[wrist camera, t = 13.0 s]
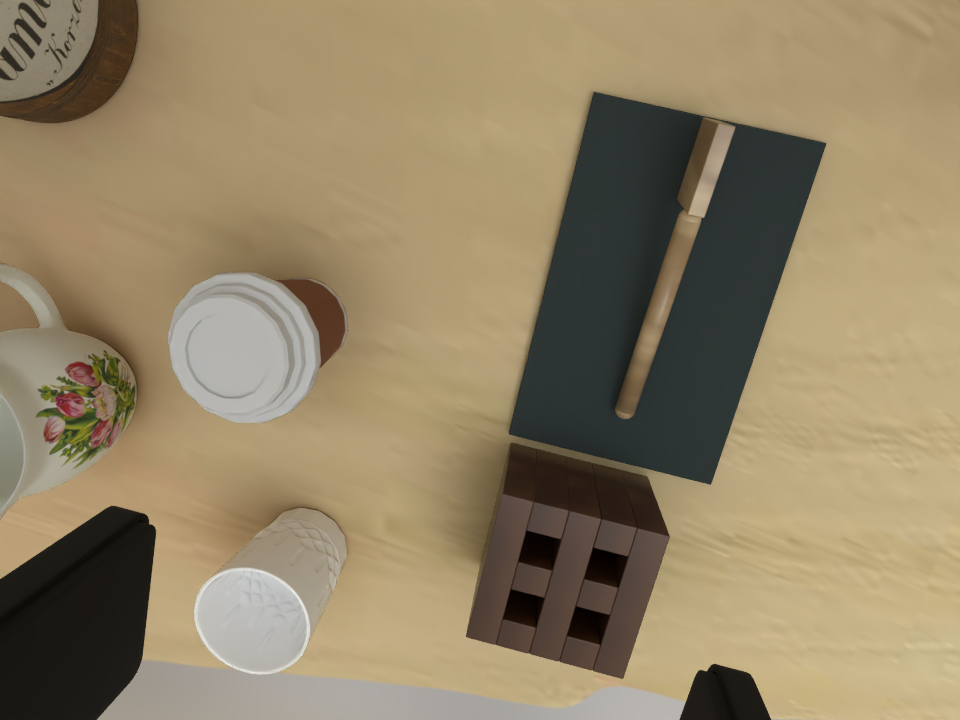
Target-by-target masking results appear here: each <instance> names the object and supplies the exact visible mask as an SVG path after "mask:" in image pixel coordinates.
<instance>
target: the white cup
mask: <svg viewBox="0 0 960 720" xmlns="http://www.w3.org/2000/svg"><path fill="white" fill-rule="evenodd" d="M346 557H347V548H346V541H345V536H344V535H343V533H342V532H341V530H340V529H339V527H338V525H337V524H336V522H335V521H333V520H332V519H330V518H329V517H327V516H326V515H324V514H323V513H322V512H320V511H317V510H311V509H306V508H297V509H293V510H289V511H285V512H283V513H281V514H280V515H279V516H278V517H277V518H276V519H275V520H274V521H272V522H271V523H270V524H269V525H268V526H267V527H266V528H265V529H263V530H261V531H260V532H259V533H257V534H256V535H255V536H254V537H253V538H252V539H250V540H249V541H248V542H247V543H246V544H245V545H244V546H243V547H242V548H241V549H240V550H239V551H238V552H237V553H236V554H235V555H234V556H233V557H232V558H231V559H230V560H229V561H228V562H227V563H226V564H225V565H223V566H222V567H221V568H220V569H219V570H218V571H217V572H216V573H215V574H214V575H213V576H212V577H211V578H210V579H209V580H208V581H207V582H206V583H205V584H204V585H203V586H202V588H201V589H200V591H199V593H198V595H197V598H196V601H195V606H194V619H195V624H196V628H197V631H198V633H199V636H200V638H201V640H202V641H203V643H204V644H205V646H206V647H207V648H208V650H209V651H210V652H211V653H212V654H213V655H214V656H215V657H216V658H218V659H219V660H220V661H222V662H223V663H225V664H226V665H228V666H230V667H232V668H234V669H236V670H239V671H242V672H246V673H251V674H271V673H276V672H279V671H282V670H284V669H286V668H288V667H290V666H291V665H293V664H294V663H295V662H296V661H297V660H298V659H299V658H300V657H301V656H302V654H303V653H304V651H305V649H306V647H307V645H308V643H309V641H310V639H311V637H312V635H313V633H314V631H315V628H316V626H317V624H318V622H319V620H320V618H321V616H322V614H323V612H324V610H325V608H326V606H327V604H328V602H329V599H330V597H331V595H332V592H333V590H334V588H335V586H336V583H337V578H338V576H339V574H340V572H341V570H342V567H343V565H344V562H345V560H346Z"/></svg>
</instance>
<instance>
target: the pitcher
mask: <svg viewBox="0 0 960 720" xmlns="http://www.w3.org/2000/svg"><path fill="white" fill-rule="evenodd" d="M0 282H3V283H6V284H8V285H10V286H12V287H13V288H14V289H15V290H17V291H18V292H19V293H20V294H21V295H22V296H23V297H24V298H25V299H26V300H27V302H28V303H29V304H30V306H31V307H32V309H33V310H34V312H35V314H36V316H37V319H38V321H39V324H40V327H39V328H22V329H13V330H7V331H2V332H0V520H1V518H2V517H3V516H4V514H5V513H6V511H7V510H8V509H9V508H10V507H11V506H12V505H13V504H15V503H16V502H17V501H18V500H19V499H20V498H23V497H26V496H30V495H33V494H37V493H40V492H43V491H46V490H49V489H51V488H54V487H56V486H58V485H60V484H62V483H65V482H67V481H69V480H71V479H72V478H74V477H76V476H78V475H79V474H81V473H82V472H84V471H85V470H87V469H88V468H90V467H91V466H93V465H94V464H95V463H96V462H98V461H99V460H100V459H101V458H102V457H103V456H104V455H106V454H107V453H108V452H109V451H110V450H111V449H112V447H113V446H114V445H115V444H116V443H117V441H118V440H119V439H120V438H121V436H122V435H123V434H124V432H125V430H126V429H127V427H128V425H129V423H130V422H131V419H132V416H133V414H134V411H135V407H136V399H137V394H136V393H137V387H136V380H135V377H134V374H133V372H132V370H131V368H130V366H129V365H128V363H127V362H126V360H125V359H124V358H123V357H122V356H121V355H120V354H119V353H117V352H116V351H115V350H114V349H113V348H112V347H110V346H109V345H107V344H106V343H104V342H102V341H100V340H98V339H96V338H94V337H91V336H88V335H85V334H81V333H77V332H73V331H68V330H67V328H66V327H65V326H64V323H63V320H62V318H61V315H60V313H59V311H58V309H57V307H56V305H55V303H54V301H53V300H52V298H51V296H50V295H49V294H48V292H47V291H46V290H45V289H44V288H43V286H42V285H41V284H40V283H39V282H38V281H36V280H35V279H34V278H33V277H32V276H30V275H29V274H28V273H26V272H25V271H23V270H21V269H19V268H17V267H15V266H12V265H8V264H4V263H0Z"/></svg>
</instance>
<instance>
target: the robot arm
mask: <svg viewBox="0 0 960 720" xmlns="http://www.w3.org/2000/svg"><path fill="white" fill-rule="evenodd" d="M155 538H156V529H155V527H154V526H153V525H150V524H149V519H148V516H147V515H145V514H143V513H139V512H136V511H132V510H128V509H124V508H120V507H117V506H111V507H108V508H106V509H105V510H103V511H102V512H100V513H99V514H97V515H96V516H94V517H93V518H91V519H90V520H88V521H87V522H85V523H84V524H82V525H81V526H79V527H78V528H76V529H75V530H73V531H72V532H70V533H69V534H67V535H66V536H64V537H63V538H61V539H60V540H58V541H57V542H55V543H54V544H52V545H51V546H49V547H48V548H46V549H45V550H43V551H42V552H40V553H39V554H37V555H36V556H34V557H33V558H31V559H30V560H28V561H27V562H25V563H24V564H22V565H21V566H19V567H18V568H16V569H15V570H13V571H12V572H10V573H9V574H7V575H6V576H4V577H3V578H1V579H0V720H97V719H98V717H99V716H100V715H101V714H102V713H103V712H104V711H105V710H106V709H107V707H108V706H109V705H110V704H111V703H112V702H113V701H114V700H115V698H116V697H117V696H118V695H119V694H120V693H121V692H122V691H123V690H124V688H125V687H126V686H127V685H128V684H129V683H130V681H131V680H132V679H133V678H134V676H135V674H136V673H137V671H138V668H139V666H140V663H141V660H142V655H143V646H144V637H145V628H146V619H147V610H148V601H149V592H150V583H151V574H152V565H153V556H154V547H155ZM680 720H771V718H770V716H769V714H768V711H767V709H766V707H765V704H764V702H763V700H762V698H761V695H760V693H759V691H758V688H757V686H756V684H755V682H754V679H753V678H752V676H751V674H749V673H747V672H743V671H740V670H736V669H732V668H728V667H724V666H721V665H717V664H713V665H711V666H710V668H709V669H708V671H703V670H700V671H698V672H697V674H696V676H695V678H694V681H693V684H692V687H691V690H690V692H689V695H688V698H687V701H686V703H685V706H684V709H683V712H682V714H681V717H680Z"/></svg>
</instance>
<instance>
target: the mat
mask: <svg viewBox="0 0 960 720" xmlns="http://www.w3.org/2000/svg"><path fill="white" fill-rule="evenodd" d="M704 117H705V116H700V115H696V114H691V113H687V112H682V111H678V110H673V109H669V108H664V107H660V106H655V105H650V104H646V103H641V102H637V101H632V100H628V99H623V98H619V97H614V96H610V95H605V94H601V93H596V92H594V94H593V98H592V102H591V106H590V110H589V114H588V118H587V122H586V126H585V130H584V134H583V138H582V142H581V146H580V150H579V154H578V158H577V162H576V166H575V170H574V174H573V178H572V182H571V186H570V190H569V194H568V198H567V202H566V206H565V210H564V214H563V218H562V222H561V226H560V230H559V234H558V239H557V243H556V247H555V251H554V255H553V259H552V263H551V267H550V271H549V275H548V279H547V283H546V287H545V291H544V295H543V299H542V303H541V307H540V311H539V315H538V319H537V323H536V327H535V331H534V335H533V339H532V343H531V347H530V351H529V355H528V359H527V363H526V367H525V371H524V375H523V379H522V383H521V387H520V391H519V395H518V399H517V403H516V407H515V411H514V415H513V419H512V423H511V427H510V431H509V434H510V435H514V436H518V437H522V438H526V439H530V440H534V441H538V442H542V443H546V444H550V445H554V446H558V447H562V448H566V449H570V450H574V451H578V452H582V453H586V454H590V455H594V456H598V457H602V458H606V459H610V460H614V461H618V462H622V463H626V464H630V465H634V466H638V467H642V468H646V469H650V470H654V471H658V472H662V473H666V474H670V475H674V476H678V477H682V478H686V479H690V480H694V481H698V482H702V483H706V484H711V483H712V480H713V477H714V474H715V471H716V468H717V465H718V462H719V459H720V456H721V453H722V450H723V447H724V444H725V441H726V438H727V436H728V433H729V430H730V427H731V424H732V421H733V418H734V415H735V412H736V409H737V406H738V403H739V400H740V397H741V394H742V391H743V388H744V385H745V382H746V379H747V376H748V373H749V371H750V368H751V365H752V362H753V359H754V356H755V353H756V350H757V347H758V344H759V341H760V338H761V335H762V332H763V329H764V326H765V323H766V320H767V317H768V314H769V311H770V308H771V306H772V303H773V300H774V297H775V294H776V291H777V288H778V285H779V282H780V279H781V276H782V273H783V270H784V267H785V264H786V261H787V258H788V255H789V252H790V249H791V246H792V243H793V241H794V238H795V235H796V232H797V229H798V226H799V223H800V220H801V217H802V214H803V211H804V208H805V205H806V202H807V199H808V196H809V193H810V190H811V187H812V184H813V181H814V179H815V176H816V173H817V170H818V167H819V164H820V161H821V158H822V155H823V152H824V149H825V146H826V143H823V142H818V141H814V140H809V139H805V138H800V137H796V136H791V135H786V134H782V133H777V132H773V131H768V130H764V129H759V128H755V127H750V126H746V125H741V124H737V123H732V122H728V121H723V120H718V119H714V118H710V119H714V120H718V121H721V122H724V123H727V124H730V125H733V126H735V131H734V133H733V136H732V139H731V142H730V145H729V148H728V151H727V154H726V157H725V159H724V162H723V165H722V168H721V171H720V174H719V177H718V180H717V182H716V185H715V188H714V191H713V194H712V197H711V200H710V203H709V205H708V208H707V211H706V214H705V217H704V218H701V223H700V226H699V229H698V232H697V235H696V238H695V241H694V244H693V246H692V249H691V252H690V255H689V258H688V261H687V264H686V267H685V270H684V272H683V275H682V278H681V281H680V284H679V287H678V290H677V293H676V296H675V298H674V301H673V304H672V307H671V310H670V313H669V316H668V319H667V322H666V324H665V327H664V330H663V333H662V336H661V339H660V342H659V345H658V348H657V350H656V353H655V356H654V359H653V362H652V365H651V368H650V371H649V374H648V376H647V379H646V382H645V385H644V388H643V391H642V394H641V397H640V400H639V402H638V405H637V408H636V411H635V414H634V415H633V416H632V417H631V418H629V419H622V418H620V417H618V416H617V414H616V412H615V406H616V403H617V400H618V397H619V394H620V391H621V388H622V385H623V382H624V379H625V376H626V373H627V370H628V367H629V364H630V361H631V358H632V355H633V352H634V349H635V346H636V343H637V339H638V336H639V333H640V330H641V327H642V324H643V321H644V318H645V315H646V312H647V309H648V306H649V303H650V300H651V297H652V294H653V291H654V288H655V285H656V282H657V279H658V276H659V273H660V270H661V267H662V264H663V261H664V257H665V254H666V251H667V248H668V245H669V242H670V239H671V236H672V233H673V230H674V227H675V224H676V221H677V218H678V215H679V214H680V212H681V211H683V210H684V208H683V207H682V206H681V204H680V203H679V202H678V200H677V197H678V194H679V191H680V188H681V184H682V181H683V178H684V175H685V172H686V169H687V166H688V163H689V160H690V157H691V154H692V151H693V148H694V144H695V141H696V138H697V135H698V132H699V129H700V126H701V123H702V120H703V118H704ZM705 118H709V117H705Z"/></svg>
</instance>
